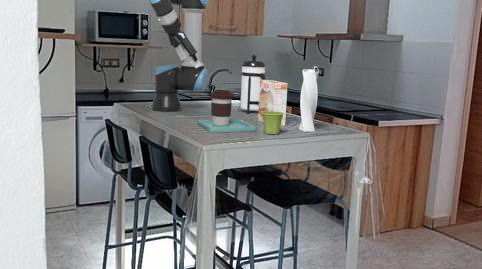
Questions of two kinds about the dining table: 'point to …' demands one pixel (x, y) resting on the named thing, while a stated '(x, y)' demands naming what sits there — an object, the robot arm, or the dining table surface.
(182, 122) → the dining table surface
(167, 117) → the dining table surface
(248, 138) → the dining table surface
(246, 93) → the coffee press
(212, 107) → the coffee cup
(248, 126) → the tray
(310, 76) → the skyscraper
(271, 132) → the plant pot
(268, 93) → the coffeecake box
